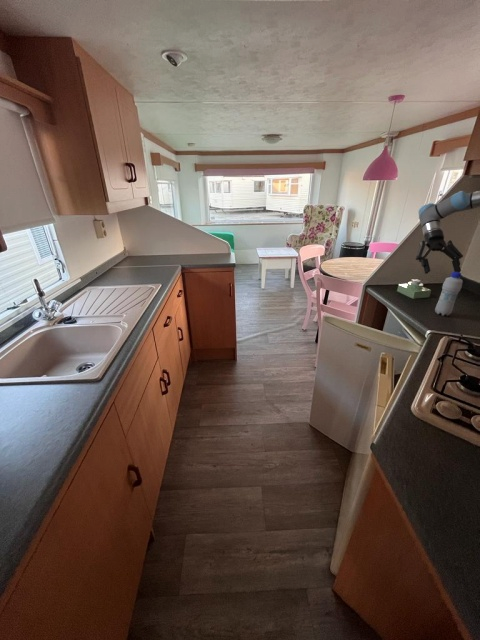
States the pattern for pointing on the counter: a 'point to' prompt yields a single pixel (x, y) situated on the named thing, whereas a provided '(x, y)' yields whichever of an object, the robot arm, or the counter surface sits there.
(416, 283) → the pump
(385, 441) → the counter surface
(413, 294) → the dispenser
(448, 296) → the bottle
